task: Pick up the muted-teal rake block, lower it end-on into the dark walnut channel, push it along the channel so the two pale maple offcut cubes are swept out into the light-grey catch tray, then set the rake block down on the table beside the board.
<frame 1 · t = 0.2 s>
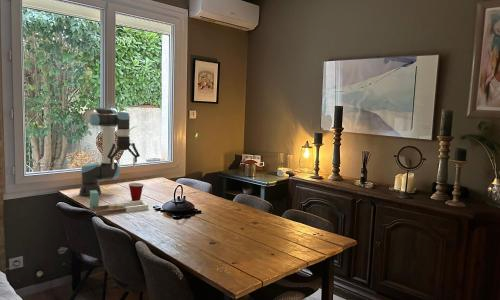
hand: (123, 168, 249), 27 cm above the table, fingers open, 13 cm apart
cube1: (112, 210, 248), on the table
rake: (94, 207, 253), on the table
channel board: (109, 211, 247), on the table
tray: (134, 208, 255), on the table
plastic cup: (136, 200, 276), on the table
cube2: (120, 210, 249), on the table
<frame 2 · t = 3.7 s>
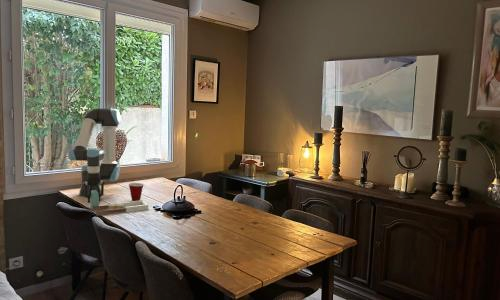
hand: (94, 206, 253), 1 cm above the table, fingers closed on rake, 4 cm apart
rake: (94, 207, 253), on the table, touching gripper
everything else where it was.
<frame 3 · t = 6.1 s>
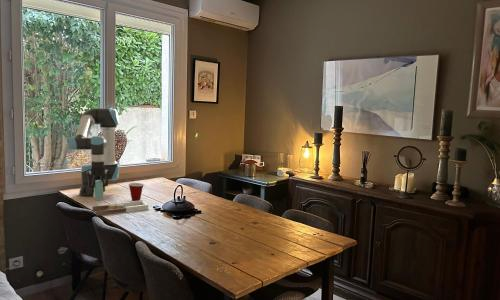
hand: (98, 197, 242), 10 cm above the table, fingers closed on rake, 4 cm apart
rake: (98, 198, 242), point 9 cm above the table, touching gripper
everything else where it was.
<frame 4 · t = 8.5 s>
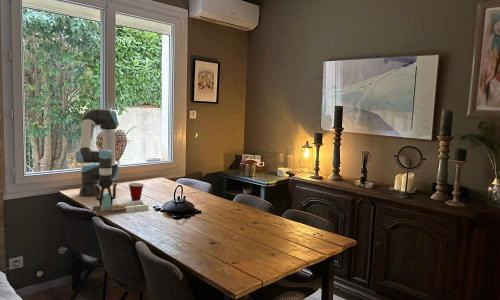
hand: (106, 209, 246), 1 cm above the table, fingers closed on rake, 4 cm apart
cube1: (113, 210, 249), on the table, touching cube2, gripper
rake: (106, 210, 246), on the table, touching gripper
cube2: (120, 210, 250), on the table, touching cube1
everything else where it was.
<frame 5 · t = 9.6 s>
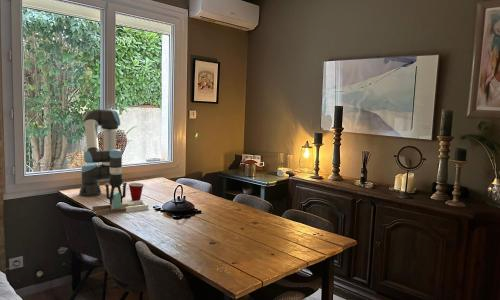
hand: (116, 208, 249), 1 cm above the table, fingers closed on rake, 4 cm apart
cube1: (123, 209, 252), on the table, touching gripper
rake: (116, 209, 249), on the table, touching gripper
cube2: (130, 209, 253), on the table
everything else where it was.
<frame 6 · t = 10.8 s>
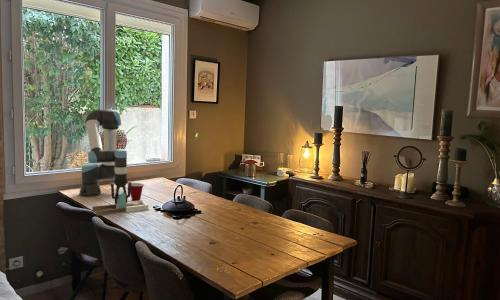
hand: (121, 208, 251), 1 cm above the table, fingers closed on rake, 4 cm apart
cube1: (128, 208, 254), on the table
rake: (121, 209, 251), on the table, touching gripper
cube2: (135, 208, 254), on the table
everything else where it was.
when the fingers open (2 cm above the table, at t = 15.2 s): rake stays where it is, on the table.
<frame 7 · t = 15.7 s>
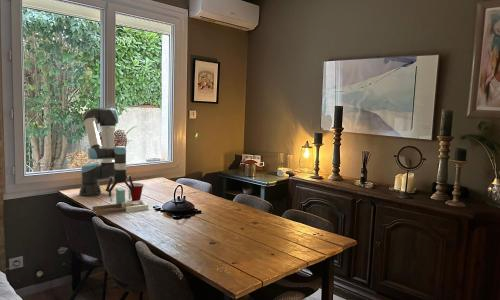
hand: (120, 200, 262), 3 cm above the table, fingers open, 11 cm apart
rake: (120, 204, 262), on the table
everything else where it was.
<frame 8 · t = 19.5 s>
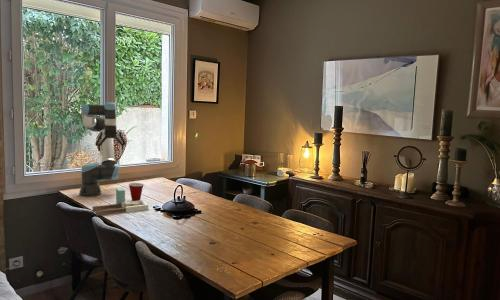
hand: (110, 155, 268), 33 cm above the table, fingers open, 13 cm apart
nothing on the table moved.
at the end: cube1 inside the target area (4.2 cm from its centre), on the table; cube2 inside the target area (1.3 cm from its centre), on the table; the gripper is holding nothing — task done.
